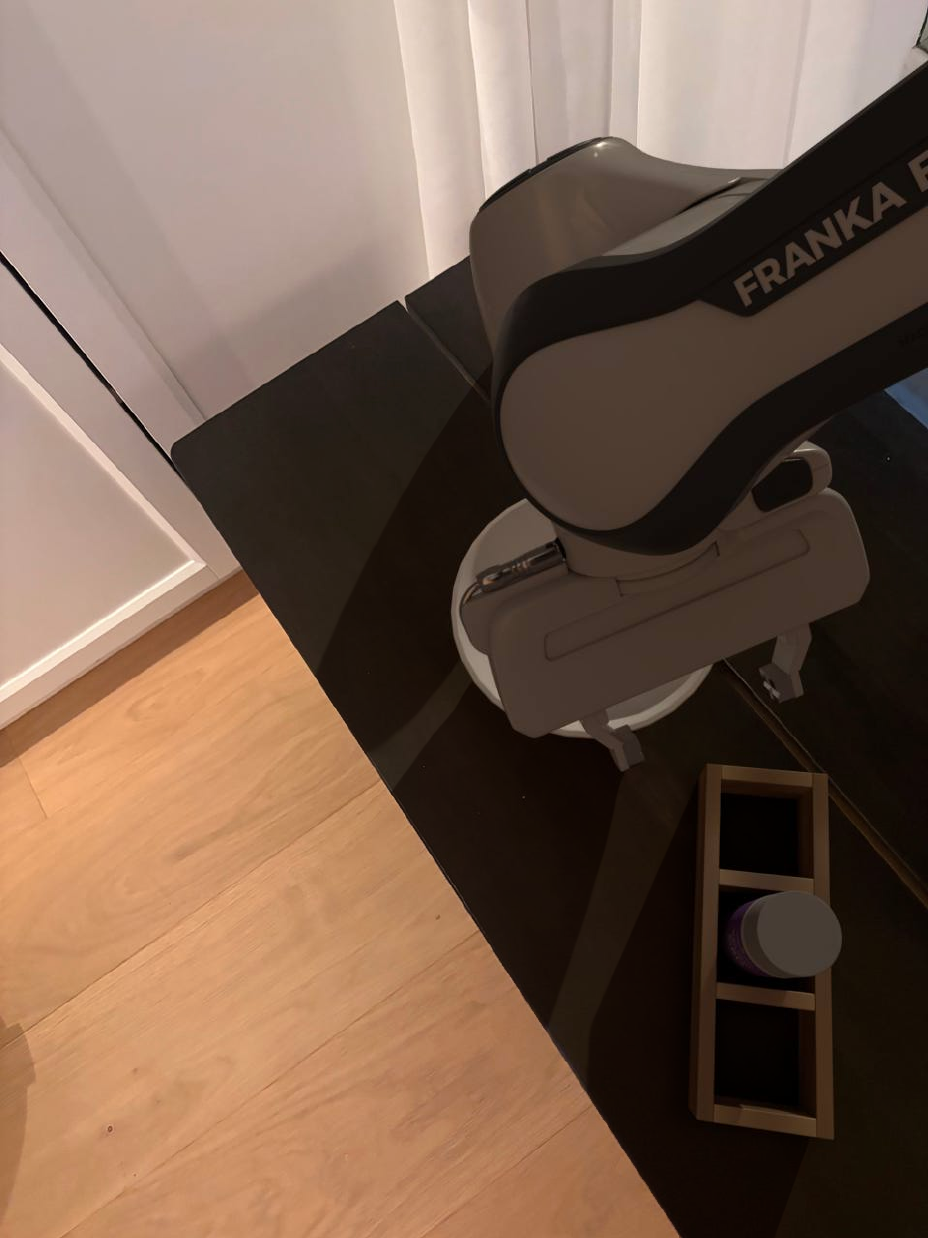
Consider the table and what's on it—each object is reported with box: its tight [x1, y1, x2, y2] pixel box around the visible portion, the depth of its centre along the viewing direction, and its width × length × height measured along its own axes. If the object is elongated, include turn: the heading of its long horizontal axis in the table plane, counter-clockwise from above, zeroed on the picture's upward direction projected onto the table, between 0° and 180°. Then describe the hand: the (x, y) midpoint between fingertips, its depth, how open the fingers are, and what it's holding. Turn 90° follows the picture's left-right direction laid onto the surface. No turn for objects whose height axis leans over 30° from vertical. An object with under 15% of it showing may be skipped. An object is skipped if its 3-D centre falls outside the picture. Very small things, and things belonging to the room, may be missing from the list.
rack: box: [688, 763, 835, 1141], centre depth 61 cm, size 8×22×5 cm, turn 173°
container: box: [718, 891, 843, 979], centre depth 56 cm, size 5×5×15 cm
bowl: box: [450, 497, 715, 739], centre depth 69 cm, size 20×19×8 cm
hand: (707, 729), depth 51 cm, fingers open, 8 cm apart
